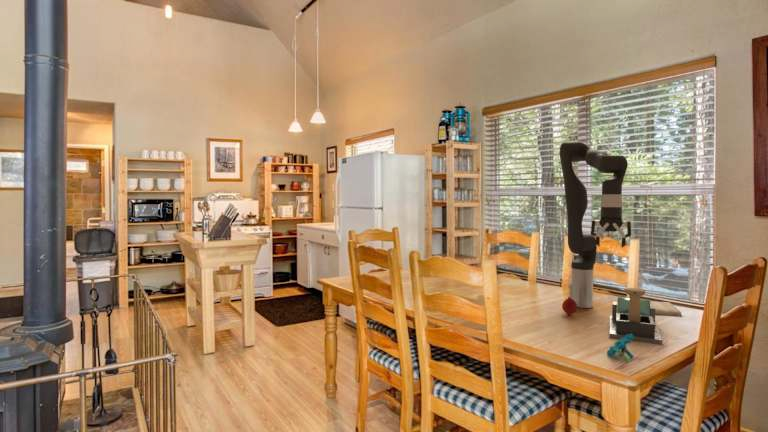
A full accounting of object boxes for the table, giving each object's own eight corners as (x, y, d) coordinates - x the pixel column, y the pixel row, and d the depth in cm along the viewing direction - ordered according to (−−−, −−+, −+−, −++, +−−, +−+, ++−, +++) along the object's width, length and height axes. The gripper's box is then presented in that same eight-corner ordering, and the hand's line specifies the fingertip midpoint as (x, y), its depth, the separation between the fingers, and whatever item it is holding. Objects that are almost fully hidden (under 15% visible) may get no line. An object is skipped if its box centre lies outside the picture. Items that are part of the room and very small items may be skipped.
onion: (576, 314, 192) (576, 295, 192) (577, 317, 187) (577, 298, 187) (561, 312, 194) (562, 294, 194) (562, 316, 189) (562, 297, 188)
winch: (609, 337, 161) (610, 309, 161) (610, 318, 186) (610, 294, 186) (661, 344, 154) (662, 315, 153) (655, 323, 179) (656, 298, 178)
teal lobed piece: (608, 344, 150) (632, 327, 144) (622, 358, 148) (647, 342, 142) (601, 358, 141) (627, 341, 135) (616, 373, 139) (642, 357, 134)
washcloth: (669, 307, 206) (669, 300, 206) (682, 317, 189) (683, 310, 189) (640, 305, 210) (640, 298, 209) (650, 315, 192) (650, 308, 192)
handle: (644, 333, 161) (645, 291, 160) (623, 331, 164) (625, 290, 163) (643, 329, 165) (644, 289, 164) (623, 327, 168) (624, 287, 167)
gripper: (631, 206, 179) (630, 246, 180) (592, 205, 186) (591, 244, 187) (632, 206, 173) (631, 248, 174) (591, 206, 179) (590, 246, 180)
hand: (610, 246), depth 180 cm, fingers open, 8 cm apart
